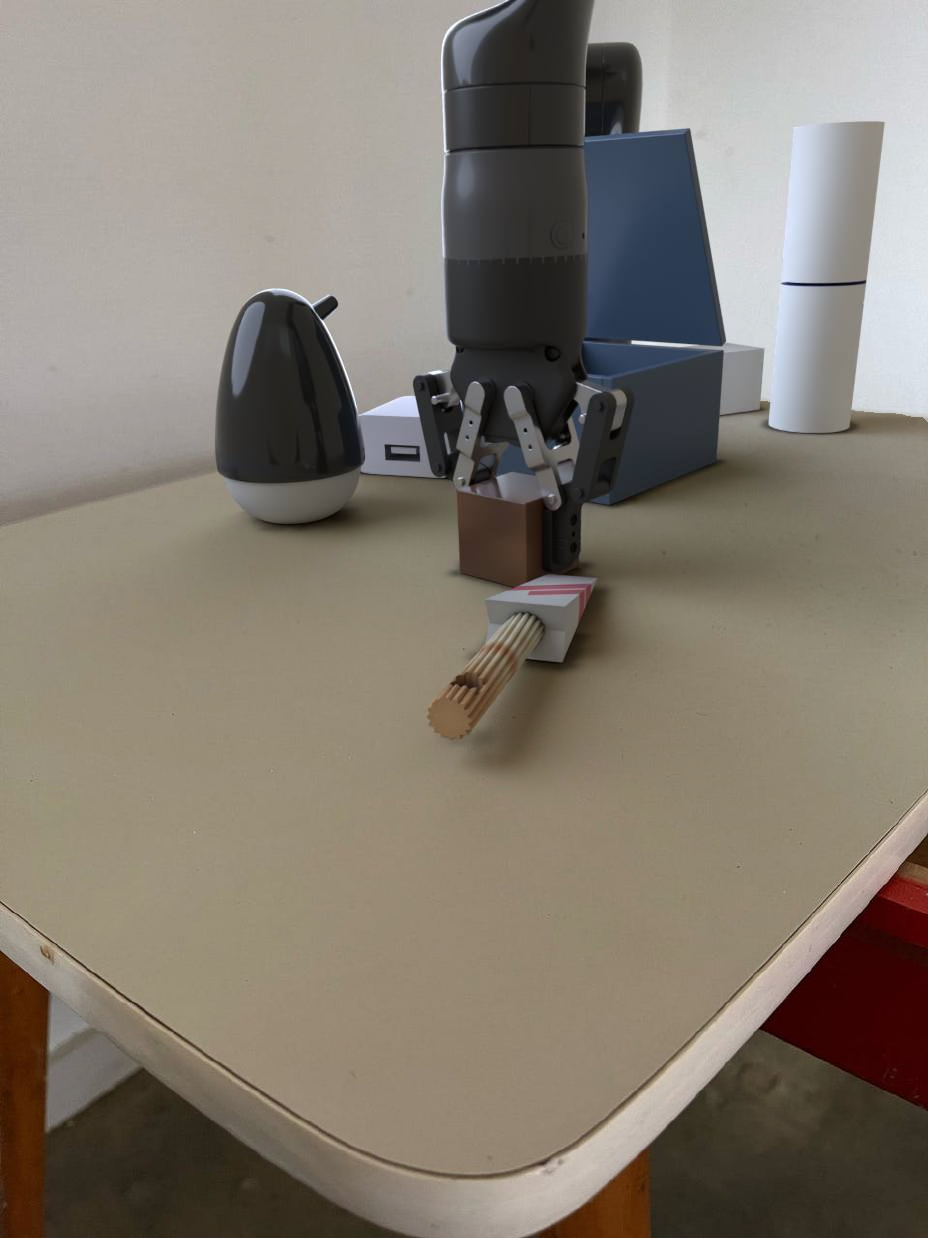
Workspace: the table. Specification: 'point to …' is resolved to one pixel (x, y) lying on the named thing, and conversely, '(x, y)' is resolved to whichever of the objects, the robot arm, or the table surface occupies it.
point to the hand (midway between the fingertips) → (518, 558)
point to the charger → (396, 440)
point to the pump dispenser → (286, 412)
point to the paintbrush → (512, 646)
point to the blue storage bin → (652, 412)
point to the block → (502, 530)
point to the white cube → (739, 377)
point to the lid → (649, 242)
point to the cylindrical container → (824, 274)
